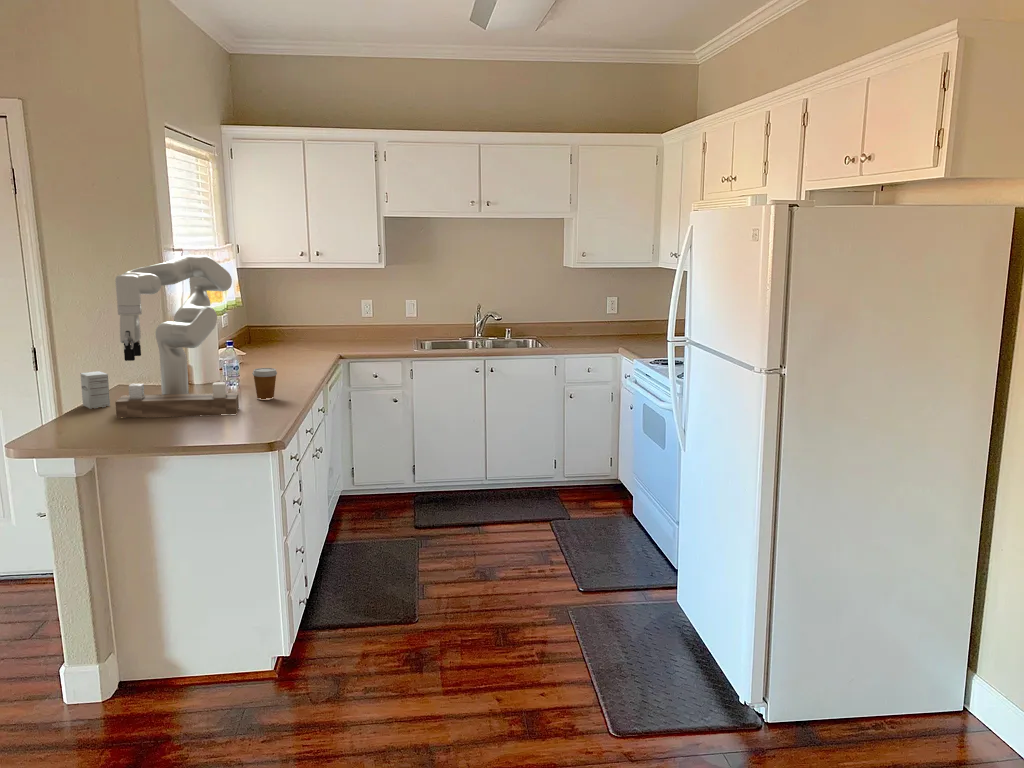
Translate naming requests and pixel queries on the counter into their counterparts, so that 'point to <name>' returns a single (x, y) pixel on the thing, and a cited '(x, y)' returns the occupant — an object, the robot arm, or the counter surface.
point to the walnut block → (176, 405)
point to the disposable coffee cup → (265, 382)
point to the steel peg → (136, 391)
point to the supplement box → (95, 389)
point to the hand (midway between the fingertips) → (133, 358)
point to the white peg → (219, 389)
